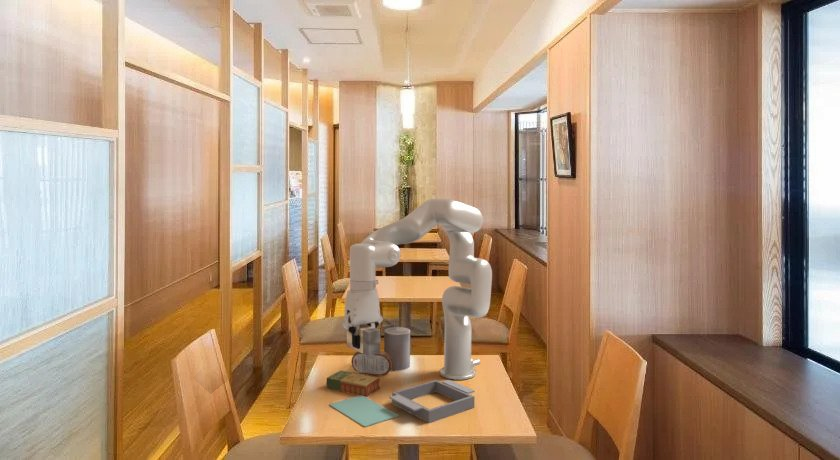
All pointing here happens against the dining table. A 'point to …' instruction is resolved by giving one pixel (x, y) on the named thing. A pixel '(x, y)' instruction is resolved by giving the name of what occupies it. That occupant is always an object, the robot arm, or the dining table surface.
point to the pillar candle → (398, 346)
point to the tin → (372, 363)
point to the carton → (353, 383)
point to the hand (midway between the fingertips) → (363, 345)
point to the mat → (363, 410)
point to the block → (366, 340)
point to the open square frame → (430, 415)
